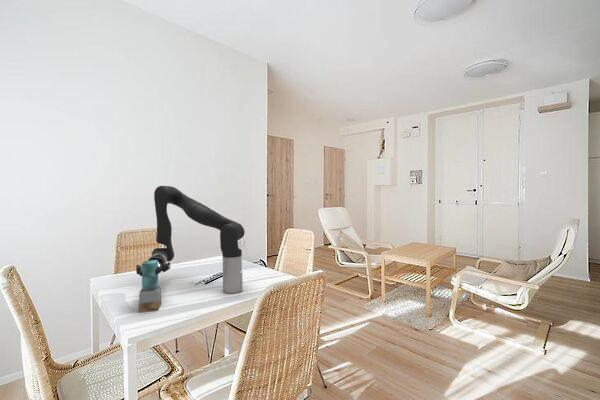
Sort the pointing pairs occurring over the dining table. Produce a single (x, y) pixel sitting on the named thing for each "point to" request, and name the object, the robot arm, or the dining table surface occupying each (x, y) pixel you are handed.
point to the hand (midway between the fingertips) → (148, 273)
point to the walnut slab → (149, 306)
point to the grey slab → (150, 294)
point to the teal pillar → (149, 274)
